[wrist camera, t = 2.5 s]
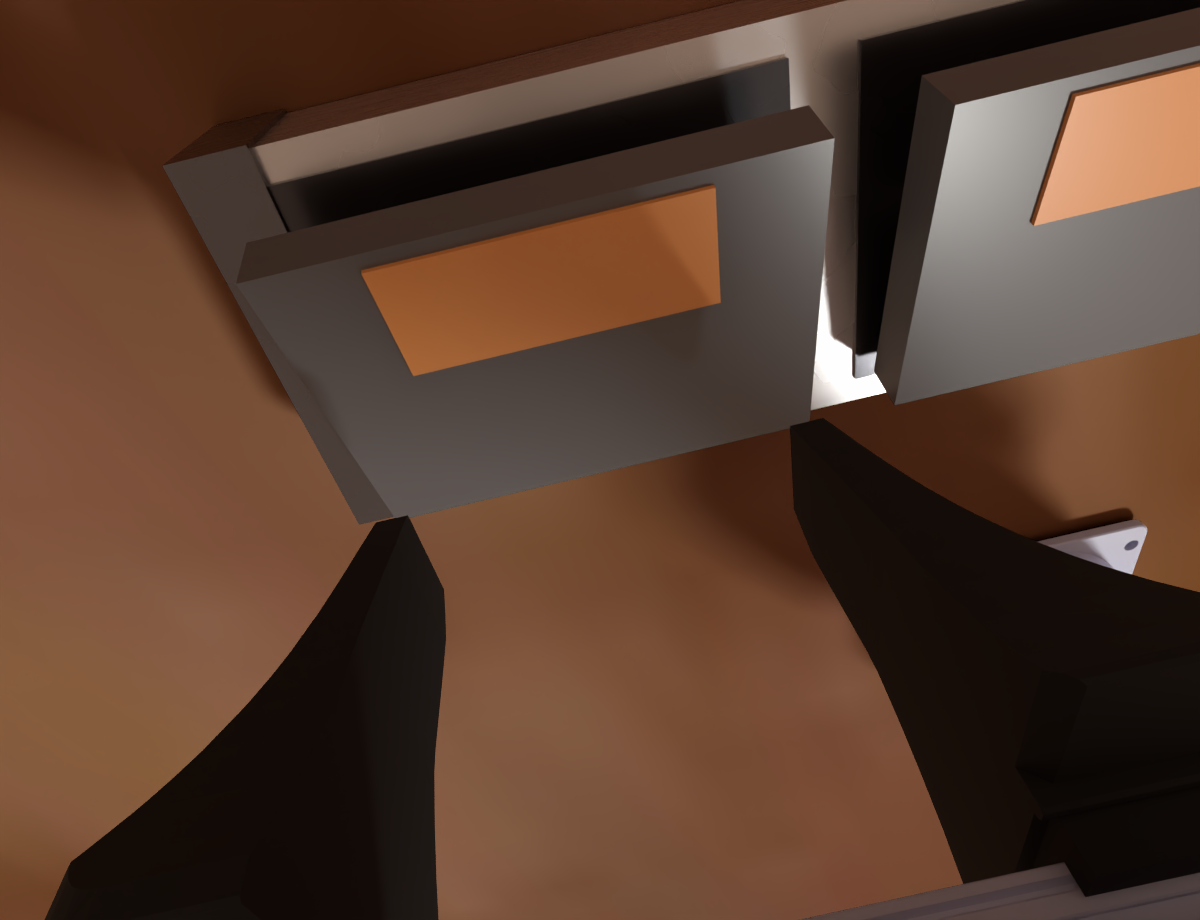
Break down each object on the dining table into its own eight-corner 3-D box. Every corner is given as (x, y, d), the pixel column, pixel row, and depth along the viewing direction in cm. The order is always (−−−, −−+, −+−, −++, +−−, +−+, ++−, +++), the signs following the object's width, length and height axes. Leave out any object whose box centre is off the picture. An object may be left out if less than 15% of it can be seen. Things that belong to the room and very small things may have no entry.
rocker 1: (785, 374, 18) (811, 426, 17) (397, 466, 18) (397, 524, 17) (798, 92, 13) (837, 140, 12) (250, 227, 13) (234, 287, 12)
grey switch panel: (1632, 154, 21) (1791, 187, 18) (374, 452, 22) (359, 524, 19) (1922, -299, 15) (2211, -342, 13) (213, 125, 16) (161, 165, 13)
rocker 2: (1265, 263, 18) (1324, 307, 17) (865, 358, 18) (896, 408, 17) (1477, -76, 13) (1585, -46, 11) (909, 64, 13) (958, 107, 12)
